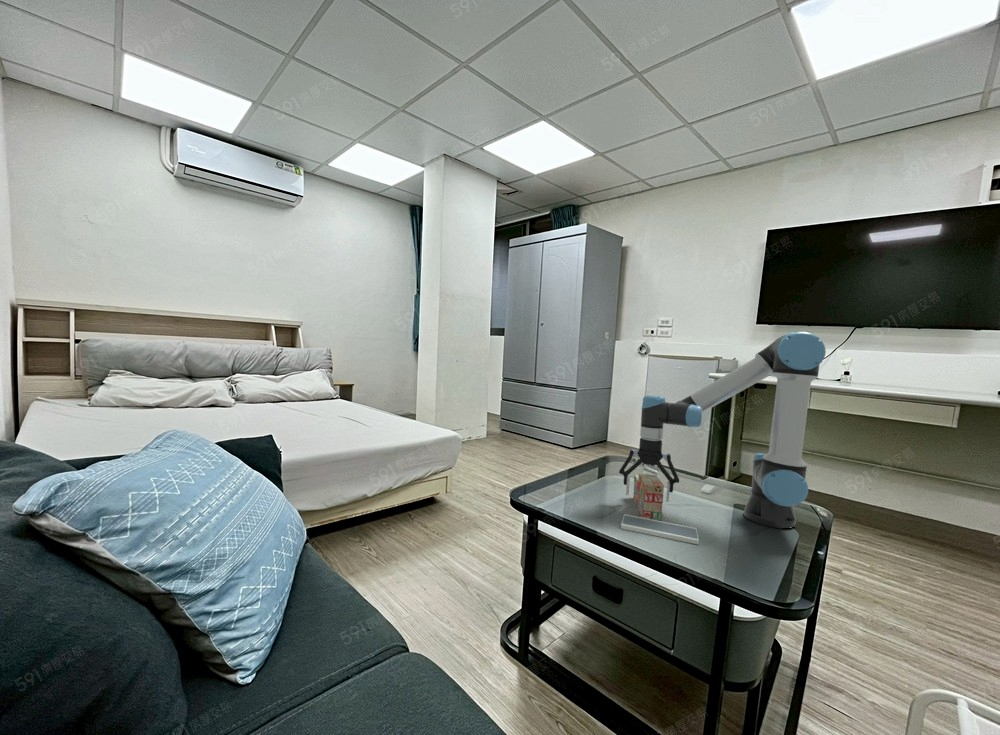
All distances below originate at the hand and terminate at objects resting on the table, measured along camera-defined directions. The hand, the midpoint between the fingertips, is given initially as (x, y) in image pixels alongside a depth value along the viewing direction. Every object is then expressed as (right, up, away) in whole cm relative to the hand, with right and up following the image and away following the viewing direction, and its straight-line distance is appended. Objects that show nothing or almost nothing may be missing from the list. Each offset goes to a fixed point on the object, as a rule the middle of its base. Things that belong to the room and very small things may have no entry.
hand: (647, 497), depth 145 cm
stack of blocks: (0, -5, +1) cm, 5 cm away
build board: (-3, -5, -18) cm, 19 cm away
